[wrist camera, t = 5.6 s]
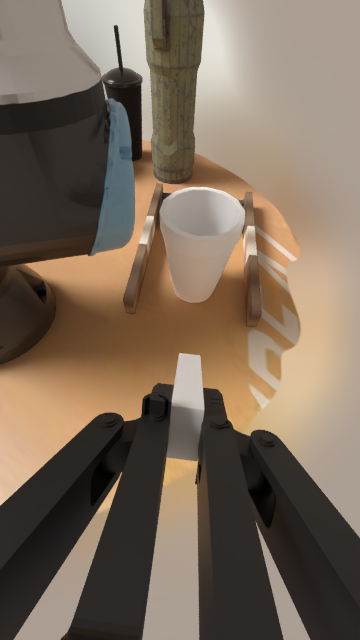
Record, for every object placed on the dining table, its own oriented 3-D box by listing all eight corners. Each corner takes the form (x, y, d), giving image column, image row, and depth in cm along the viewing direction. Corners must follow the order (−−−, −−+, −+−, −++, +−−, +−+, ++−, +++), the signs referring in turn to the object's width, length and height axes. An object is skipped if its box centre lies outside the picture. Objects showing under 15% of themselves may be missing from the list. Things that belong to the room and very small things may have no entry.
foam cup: (232, 304, 36) (259, 232, 25) (172, 317, 35) (172, 247, 24) (211, 260, 41) (226, 182, 30) (157, 269, 40) (152, 191, 28)
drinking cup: (116, 165, 56) (92, 31, 39) (114, 148, 60) (92, 20, 43) (149, 162, 57) (141, 31, 40) (145, 147, 61) (136, 20, 44)
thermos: (145, 183, 52) (111, -197, 22) (162, 157, 58) (153, -170, 29) (184, 191, 51) (204, -196, 21) (198, 163, 57) (227, -169, 28)
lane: (254, 326, 35) (261, 315, 32) (126, 312, 35) (122, 299, 32) (247, 206, 49) (252, 192, 47) (157, 198, 50) (156, 183, 47)
